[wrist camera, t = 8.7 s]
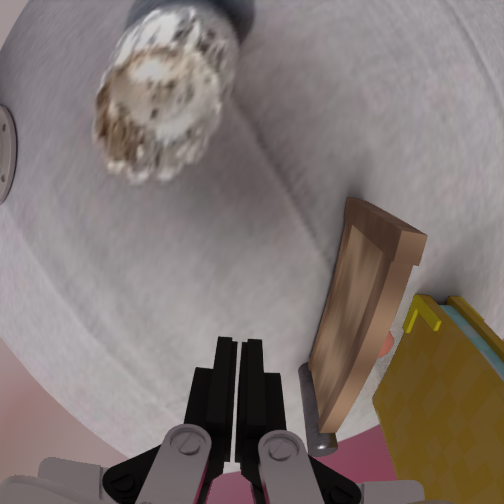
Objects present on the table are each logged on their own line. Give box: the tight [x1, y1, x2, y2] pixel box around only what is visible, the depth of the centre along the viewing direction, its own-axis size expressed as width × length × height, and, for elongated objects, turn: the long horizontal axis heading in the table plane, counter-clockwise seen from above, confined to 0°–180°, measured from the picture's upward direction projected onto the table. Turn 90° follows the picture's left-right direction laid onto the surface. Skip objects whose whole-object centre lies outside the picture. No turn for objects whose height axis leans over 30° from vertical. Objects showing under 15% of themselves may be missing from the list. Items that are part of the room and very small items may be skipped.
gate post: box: [298, 363, 338, 457], centre depth 22 cm, size 2×2×10 cm
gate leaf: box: [308, 197, 427, 433], centre depth 19 cm, size 16×2×9 cm, turn 174°
